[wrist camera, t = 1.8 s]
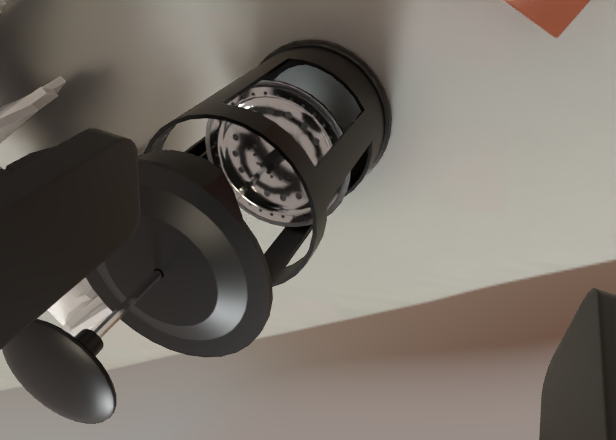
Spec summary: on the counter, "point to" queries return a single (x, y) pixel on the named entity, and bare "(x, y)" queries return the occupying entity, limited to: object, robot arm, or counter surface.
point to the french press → (216, 225)
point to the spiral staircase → (82, 298)
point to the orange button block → (550, 12)
